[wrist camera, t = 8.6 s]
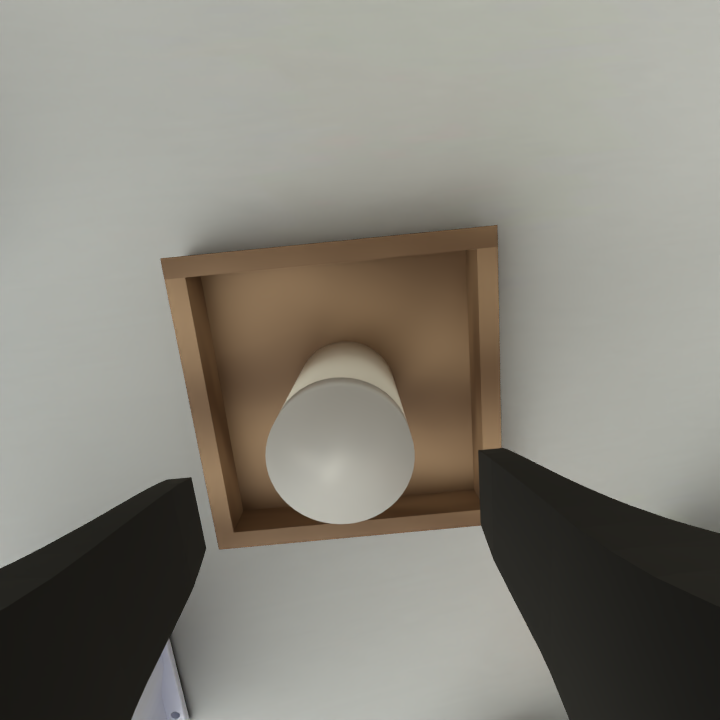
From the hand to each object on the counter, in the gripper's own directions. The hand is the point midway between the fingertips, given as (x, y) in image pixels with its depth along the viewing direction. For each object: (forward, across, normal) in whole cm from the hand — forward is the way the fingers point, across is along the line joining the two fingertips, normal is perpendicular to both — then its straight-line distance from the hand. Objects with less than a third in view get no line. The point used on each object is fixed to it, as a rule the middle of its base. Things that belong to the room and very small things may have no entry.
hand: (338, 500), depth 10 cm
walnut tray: (+10, 0, 0) cm, 10 cm away
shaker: (+9, 0, 0) cm, 9 cm away
